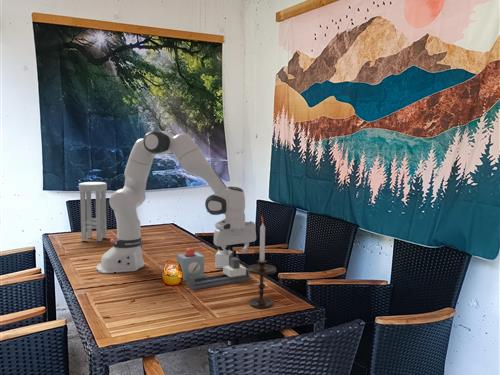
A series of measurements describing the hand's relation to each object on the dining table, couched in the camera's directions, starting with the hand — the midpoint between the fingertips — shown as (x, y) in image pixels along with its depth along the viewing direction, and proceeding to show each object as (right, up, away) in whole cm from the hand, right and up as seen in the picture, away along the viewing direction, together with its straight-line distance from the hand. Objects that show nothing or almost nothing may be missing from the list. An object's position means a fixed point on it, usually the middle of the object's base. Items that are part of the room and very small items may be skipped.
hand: (235, 253), depth 198 cm
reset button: (-21, -3, +3) cm, 21 cm away
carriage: (0, -9, +1) cm, 9 cm away
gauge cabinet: (-21, -11, +4) cm, 24 cm away
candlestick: (+11, -16, -28) cm, 34 cm away
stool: (-89, -3, +72) cm, 114 cm away
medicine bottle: (-6, -10, +21) cm, 24 cm away
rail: (-7, -12, -3) cm, 15 cm away
